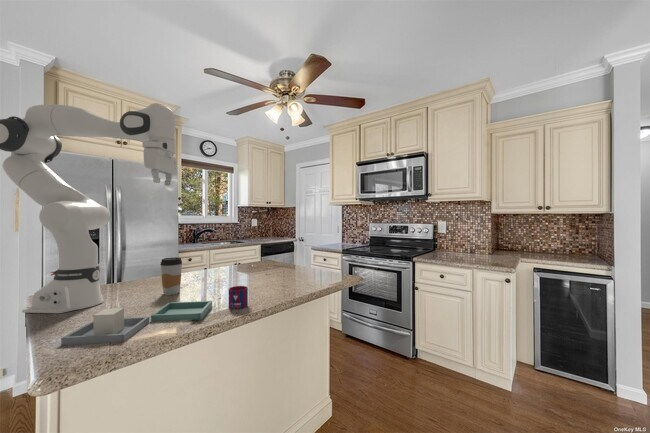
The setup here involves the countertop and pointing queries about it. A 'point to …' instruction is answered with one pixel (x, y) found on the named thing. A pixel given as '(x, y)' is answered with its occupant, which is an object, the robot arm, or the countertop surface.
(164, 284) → the coffee cup
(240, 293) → the cup
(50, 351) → the countertop surface
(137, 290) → the countertop surface
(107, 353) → the countertop surface
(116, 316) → the stone block
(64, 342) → the bin
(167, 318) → the bin
